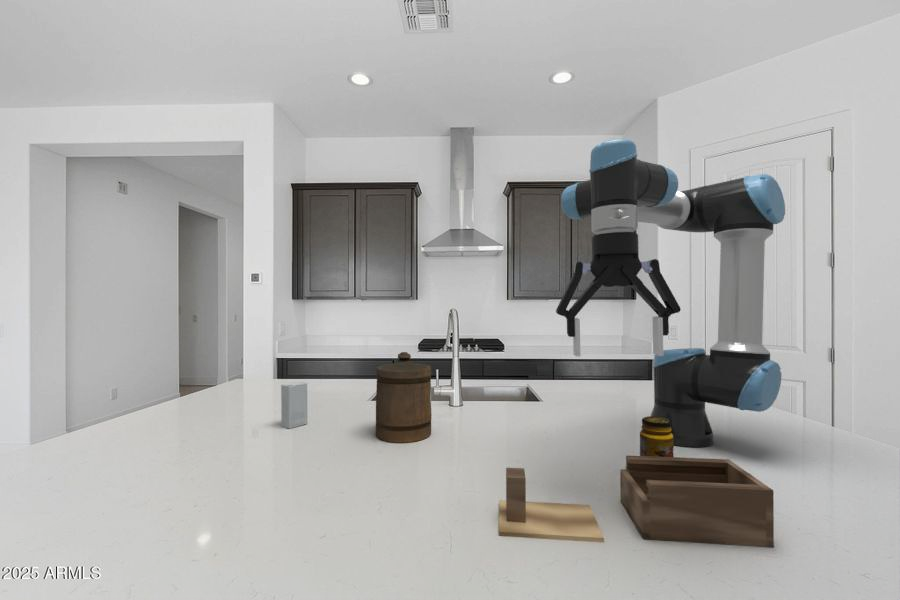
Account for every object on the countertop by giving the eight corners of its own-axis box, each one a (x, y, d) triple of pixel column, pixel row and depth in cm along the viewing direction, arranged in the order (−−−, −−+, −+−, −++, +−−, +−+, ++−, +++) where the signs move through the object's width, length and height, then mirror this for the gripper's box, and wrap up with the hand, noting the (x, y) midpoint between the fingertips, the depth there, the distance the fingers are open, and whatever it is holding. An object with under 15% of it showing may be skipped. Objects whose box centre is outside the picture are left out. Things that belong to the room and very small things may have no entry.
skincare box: (299, 421, 125) (299, 380, 125) (308, 424, 122) (308, 382, 122) (280, 426, 120) (280, 384, 120) (288, 429, 117) (288, 386, 117)
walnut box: (620, 501, 75) (620, 455, 75) (728, 506, 73) (728, 459, 73) (643, 539, 63) (642, 484, 63) (773, 547, 61) (773, 490, 61)
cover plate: (499, 505, 74) (499, 460, 74) (589, 510, 72) (589, 464, 72) (499, 538, 64) (498, 485, 64) (603, 544, 62) (603, 490, 62)
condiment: (679, 488, 80) (678, 425, 80) (630, 483, 83) (630, 421, 83) (671, 473, 87) (671, 415, 87) (626, 468, 89) (626, 412, 90)
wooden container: (441, 431, 116) (441, 351, 116) (408, 447, 103) (408, 357, 103) (399, 423, 123) (399, 348, 124) (363, 436, 111) (363, 353, 111)
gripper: (543, 233, 71) (546, 358, 72) (700, 226, 68) (703, 357, 68) (539, 239, 79) (542, 352, 79) (681, 233, 75) (684, 351, 76)
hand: (617, 355), depth 74 cm, fingers open, 13 cm apart
